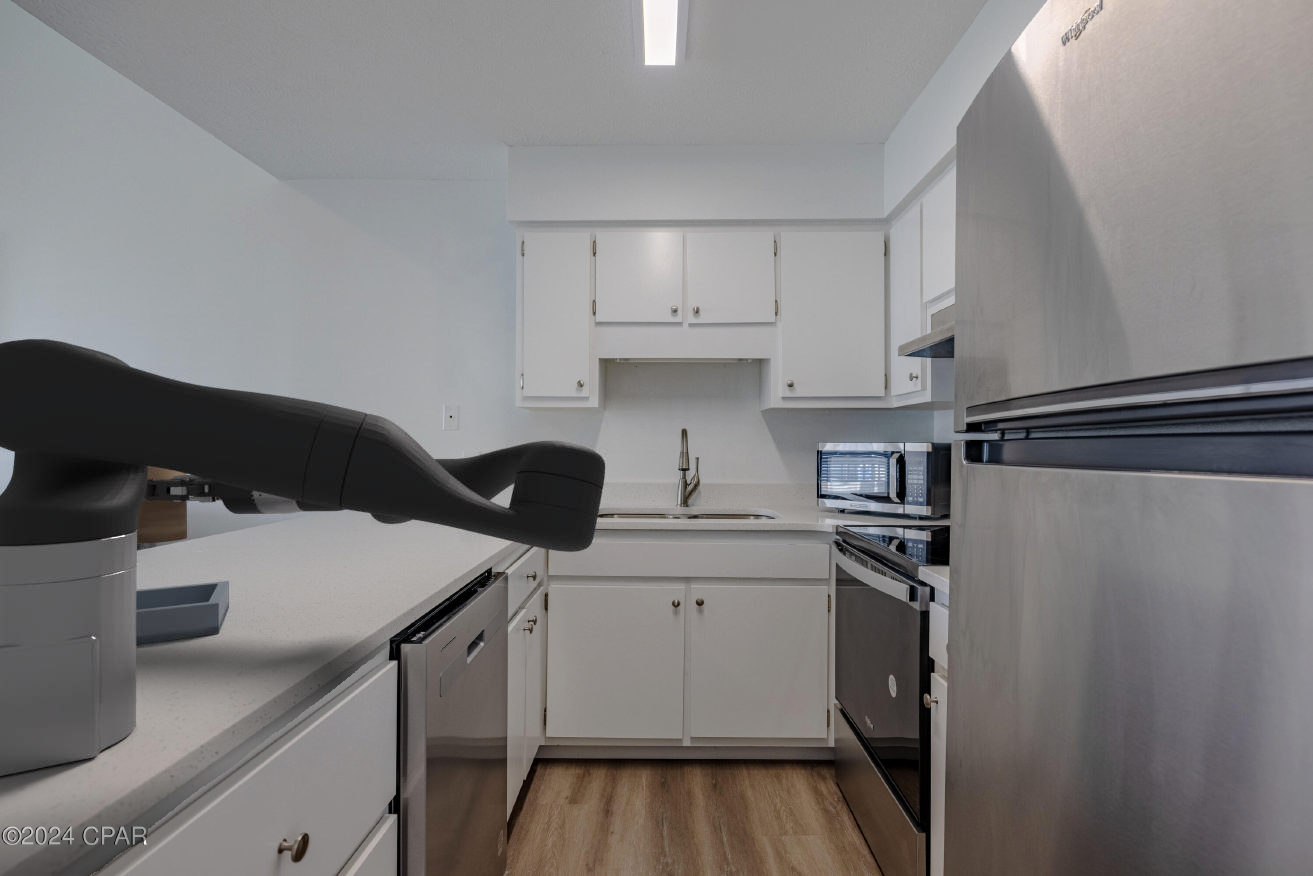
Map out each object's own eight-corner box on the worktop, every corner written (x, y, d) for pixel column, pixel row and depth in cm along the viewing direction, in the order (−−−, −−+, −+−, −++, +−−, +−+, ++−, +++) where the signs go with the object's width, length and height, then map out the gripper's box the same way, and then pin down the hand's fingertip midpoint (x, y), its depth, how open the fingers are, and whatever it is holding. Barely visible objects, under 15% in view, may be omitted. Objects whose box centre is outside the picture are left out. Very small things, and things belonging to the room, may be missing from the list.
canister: (183, 540, 80) (183, 450, 80) (132, 544, 77) (131, 450, 77) (189, 535, 84) (189, 449, 84) (141, 538, 82) (140, 450, 82)
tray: (218, 633, 78) (218, 602, 78) (72, 653, 71) (72, 619, 71) (229, 607, 90) (229, 580, 90) (105, 621, 83) (105, 592, 83)
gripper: (238, 521, 74) (94, 522, 73) (301, 507, 89) (181, 508, 88) (237, 460, 74) (94, 461, 73) (300, 456, 89) (181, 457, 88)
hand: (142, 487), depth 81 cm, fingers closed on canister, 5 cm apart
